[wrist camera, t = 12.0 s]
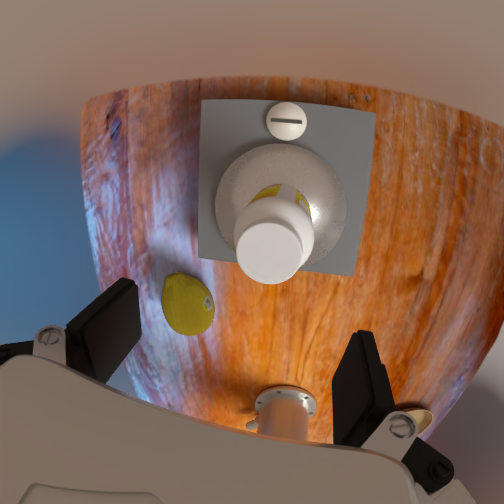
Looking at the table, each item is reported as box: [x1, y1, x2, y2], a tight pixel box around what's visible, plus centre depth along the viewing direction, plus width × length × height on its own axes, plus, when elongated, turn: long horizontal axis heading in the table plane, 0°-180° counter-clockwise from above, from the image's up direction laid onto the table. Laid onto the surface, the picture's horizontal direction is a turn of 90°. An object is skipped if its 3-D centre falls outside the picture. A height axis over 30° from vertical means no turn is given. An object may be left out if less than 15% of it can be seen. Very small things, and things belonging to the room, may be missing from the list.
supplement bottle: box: [233, 183, 314, 284], centre depth 26 cm, size 7×7×13 cm
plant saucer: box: [400, 408, 433, 435], centre depth 49 cm, size 15×15×3 cm
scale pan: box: [215, 144, 347, 270], centre depth 32 cm, size 15×15×1 cm
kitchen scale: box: [198, 99, 376, 276], centre depth 33 cm, size 20×20×6 cm
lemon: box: [161, 272, 215, 336], centre depth 41 cm, size 11×8×8 cm
